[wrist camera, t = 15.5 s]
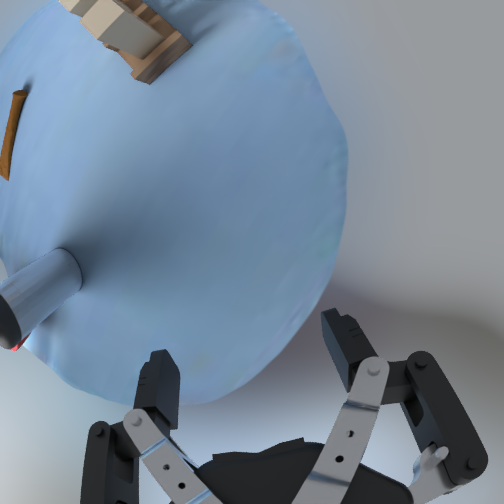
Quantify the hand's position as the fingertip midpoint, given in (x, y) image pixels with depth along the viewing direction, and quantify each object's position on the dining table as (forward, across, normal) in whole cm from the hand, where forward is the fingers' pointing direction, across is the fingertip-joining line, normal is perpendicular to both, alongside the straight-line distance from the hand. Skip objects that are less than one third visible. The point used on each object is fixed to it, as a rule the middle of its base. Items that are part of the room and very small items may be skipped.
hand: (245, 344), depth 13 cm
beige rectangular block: (+29, +5, -25) cm, 38 cm away
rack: (+31, +6, -28) cm, 42 cm away
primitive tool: (+38, +39, -24) cm, 60 cm away
